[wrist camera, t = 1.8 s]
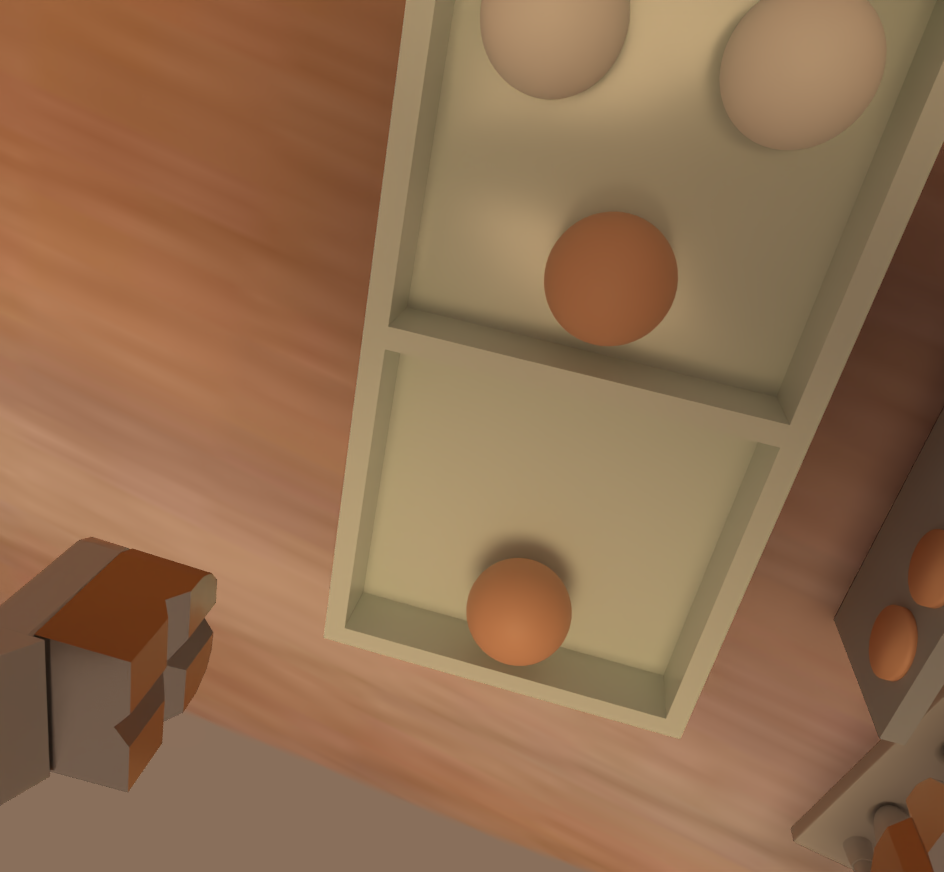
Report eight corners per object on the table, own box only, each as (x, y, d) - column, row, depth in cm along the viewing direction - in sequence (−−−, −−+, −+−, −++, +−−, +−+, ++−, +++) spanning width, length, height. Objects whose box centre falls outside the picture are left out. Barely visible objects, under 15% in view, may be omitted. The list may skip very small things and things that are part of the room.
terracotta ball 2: (690, 218, 24) (701, 241, 20) (653, 337, 26) (657, 378, 22) (566, 190, 24) (555, 208, 21) (537, 309, 26) (523, 345, 22)
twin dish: (975, -33, 20) (1028, -51, 18) (675, 684, 32) (680, 739, 29) (451, -133, 22) (427, -164, 19) (348, 593, 33) (323, 637, 31)
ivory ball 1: (647, -43, 21) (650, -68, 18) (609, 110, 23) (605, 115, 19) (508, -71, 21) (483, -101, 18) (480, 83, 23) (454, 83, 20)
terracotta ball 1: (586, 553, 30) (580, 617, 26) (561, 631, 31) (553, 701, 28) (486, 526, 30) (467, 586, 26) (468, 605, 32) (447, 671, 28)
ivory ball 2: (886, 4, 21) (940, -12, 17) (828, 157, 22) (866, 172, 19) (739, -24, 21) (763, -46, 17) (694, 129, 23) (706, 137, 19)
